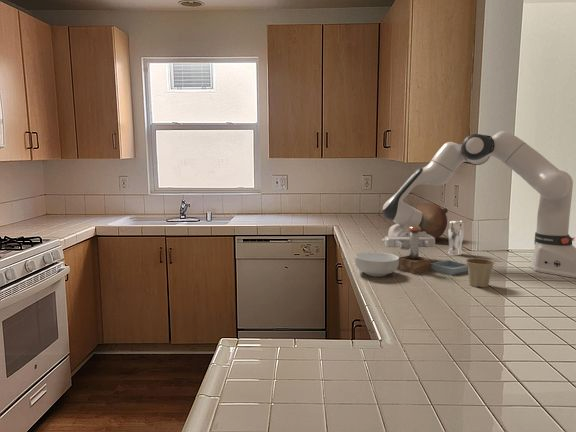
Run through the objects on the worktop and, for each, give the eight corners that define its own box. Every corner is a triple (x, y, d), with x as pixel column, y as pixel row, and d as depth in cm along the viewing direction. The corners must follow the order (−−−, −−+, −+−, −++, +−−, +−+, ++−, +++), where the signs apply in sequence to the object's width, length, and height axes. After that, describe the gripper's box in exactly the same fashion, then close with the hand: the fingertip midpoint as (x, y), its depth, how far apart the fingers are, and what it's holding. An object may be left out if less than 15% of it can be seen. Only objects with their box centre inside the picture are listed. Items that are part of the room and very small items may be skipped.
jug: (445, 244, 238) (434, 243, 268) (454, 206, 238) (441, 209, 268) (405, 235, 240) (398, 235, 270) (413, 198, 240) (405, 201, 270)
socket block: (429, 270, 187) (430, 259, 186) (413, 273, 182) (414, 262, 182) (412, 265, 195) (413, 255, 194) (396, 268, 190) (397, 257, 189)
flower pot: (469, 280, 173) (470, 257, 172) (496, 284, 167) (498, 260, 166) (460, 285, 166) (461, 261, 164) (488, 290, 160) (489, 265, 159)
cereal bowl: (399, 281, 172) (399, 262, 171) (353, 278, 176) (353, 260, 175) (398, 269, 189) (398, 252, 188) (356, 267, 192) (356, 250, 191)
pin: (421, 270, 188) (423, 227, 185) (413, 271, 185) (414, 228, 183) (413, 267, 192) (414, 225, 189) (404, 269, 189) (406, 226, 187)
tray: (471, 271, 185) (471, 265, 184) (452, 275, 179) (452, 269, 179) (448, 265, 194) (448, 259, 194) (429, 269, 188) (429, 263, 188)
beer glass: (452, 256, 212) (454, 223, 210) (443, 252, 218) (445, 220, 216) (466, 255, 214) (467, 222, 211) (456, 252, 220) (458, 220, 218)
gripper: (380, 231, 200) (388, 237, 186) (428, 231, 200) (440, 237, 186) (380, 246, 201) (388, 253, 187) (428, 245, 201) (439, 252, 187)
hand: (414, 245), depth 187 cm, fingers open, 8 cm apart
